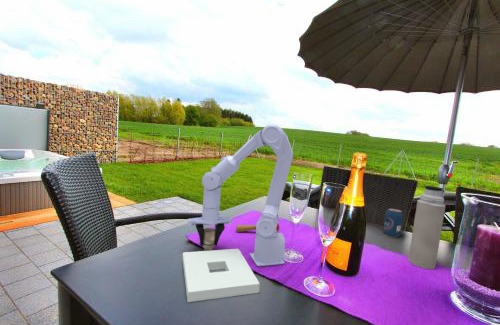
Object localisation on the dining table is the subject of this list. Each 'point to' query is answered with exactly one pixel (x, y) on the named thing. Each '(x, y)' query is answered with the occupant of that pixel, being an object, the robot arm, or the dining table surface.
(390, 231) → the soda can
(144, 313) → the dining table surface
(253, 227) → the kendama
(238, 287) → the hole board
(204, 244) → the birch peg
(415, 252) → the thermos bottle
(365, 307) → the dining table surface
